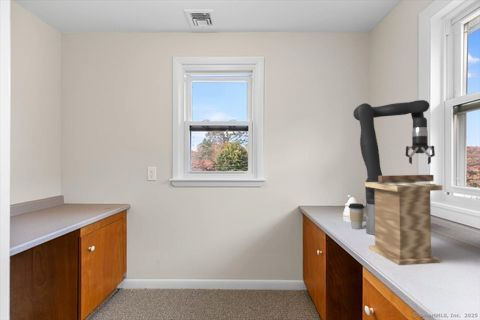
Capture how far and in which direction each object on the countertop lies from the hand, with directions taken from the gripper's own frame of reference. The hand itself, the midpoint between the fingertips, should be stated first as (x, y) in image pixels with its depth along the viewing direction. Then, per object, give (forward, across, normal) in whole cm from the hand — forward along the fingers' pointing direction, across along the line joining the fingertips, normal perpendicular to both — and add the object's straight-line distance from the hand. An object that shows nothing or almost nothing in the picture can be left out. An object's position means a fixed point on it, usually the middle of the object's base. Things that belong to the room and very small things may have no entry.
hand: (419, 164), depth 169 cm
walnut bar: (+8, -5, -39) cm, 40 cm away
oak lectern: (+40, -6, -48) cm, 63 cm away
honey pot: (+40, -41, +18) cm, 60 cm away
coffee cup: (+40, -34, -4) cm, 53 cm away
